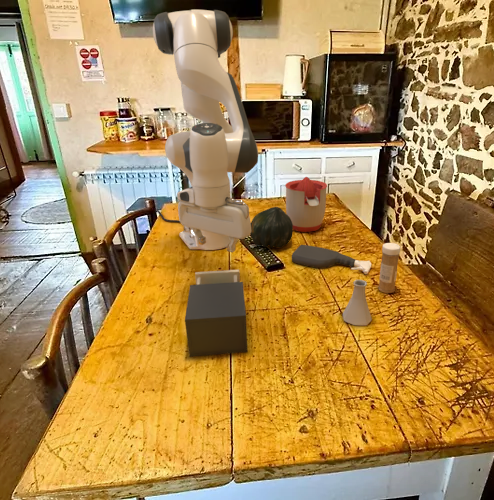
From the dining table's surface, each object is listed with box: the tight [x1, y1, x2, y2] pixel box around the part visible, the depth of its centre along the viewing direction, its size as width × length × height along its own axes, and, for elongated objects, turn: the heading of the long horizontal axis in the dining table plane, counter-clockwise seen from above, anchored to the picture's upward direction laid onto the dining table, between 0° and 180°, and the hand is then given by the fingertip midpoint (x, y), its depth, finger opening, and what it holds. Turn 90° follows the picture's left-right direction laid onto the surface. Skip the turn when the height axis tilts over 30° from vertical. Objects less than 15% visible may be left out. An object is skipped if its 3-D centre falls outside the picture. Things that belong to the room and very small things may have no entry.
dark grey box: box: [184, 281, 249, 358], centre depth 91 cm, size 15×13×10 cm
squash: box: [249, 206, 294, 249], centre depth 137 cm, size 14×15×15 cm
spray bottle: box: [291, 244, 372, 275], centre depth 125 cm, size 3×11×24 cm
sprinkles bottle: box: [377, 242, 401, 294], centre depth 107 cm, size 5×5×13 cm
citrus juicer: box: [284, 176, 328, 233], centre depth 150 cm, size 16×17×20 cm
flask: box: [342, 279, 373, 326], centre depth 96 cm, size 7×7×10 cm
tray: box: [194, 269, 241, 285], centre depth 101 cm, size 18×11×8 cm, turn 6°
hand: (216, 247), depth 101 cm, fingers open, 8 cm apart
